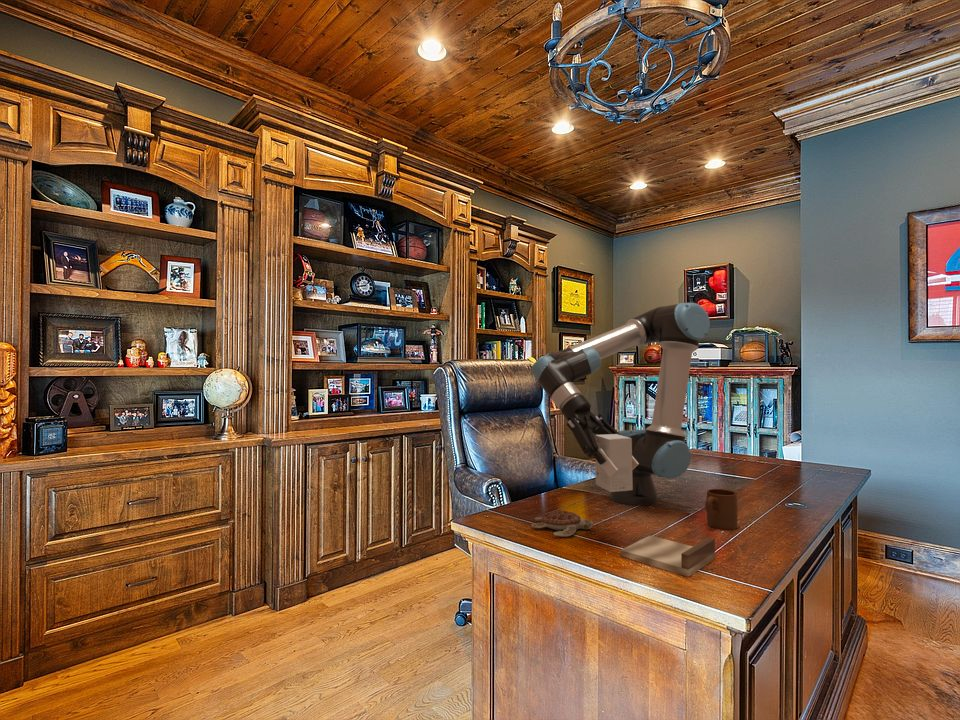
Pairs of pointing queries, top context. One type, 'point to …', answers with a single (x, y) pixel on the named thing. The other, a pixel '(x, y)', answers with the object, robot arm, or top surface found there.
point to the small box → (615, 462)
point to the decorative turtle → (563, 523)
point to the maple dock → (672, 554)
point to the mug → (721, 509)
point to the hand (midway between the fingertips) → (624, 470)
